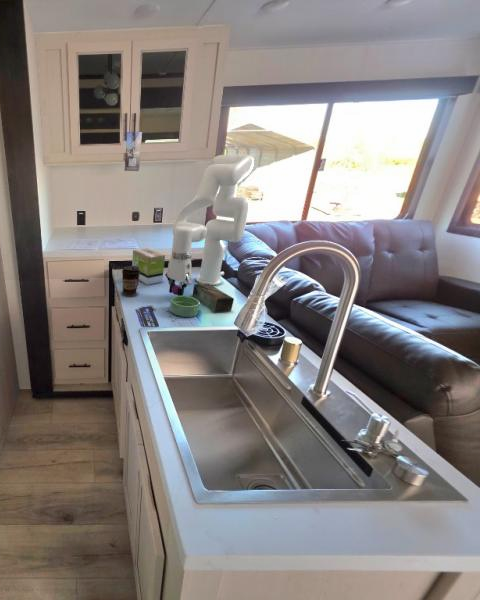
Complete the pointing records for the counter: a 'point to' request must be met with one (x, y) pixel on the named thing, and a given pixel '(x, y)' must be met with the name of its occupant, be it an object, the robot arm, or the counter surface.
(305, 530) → the counter surface
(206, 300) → the brown wooden block
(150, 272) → the tea box
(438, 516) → the counter surface
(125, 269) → the coffee cup
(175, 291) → the ball
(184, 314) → the bowl
